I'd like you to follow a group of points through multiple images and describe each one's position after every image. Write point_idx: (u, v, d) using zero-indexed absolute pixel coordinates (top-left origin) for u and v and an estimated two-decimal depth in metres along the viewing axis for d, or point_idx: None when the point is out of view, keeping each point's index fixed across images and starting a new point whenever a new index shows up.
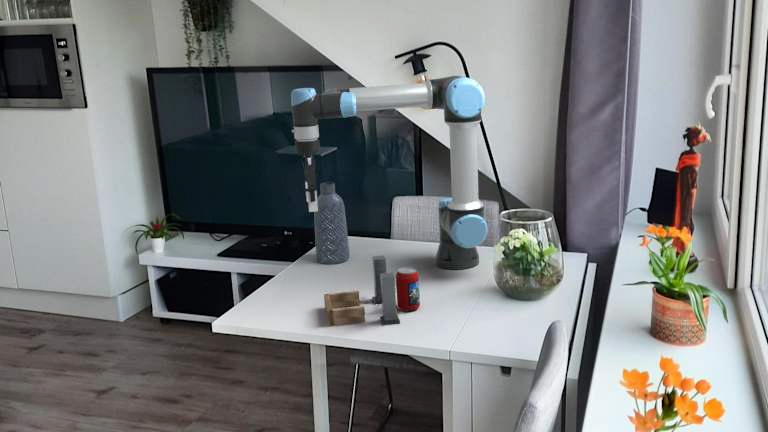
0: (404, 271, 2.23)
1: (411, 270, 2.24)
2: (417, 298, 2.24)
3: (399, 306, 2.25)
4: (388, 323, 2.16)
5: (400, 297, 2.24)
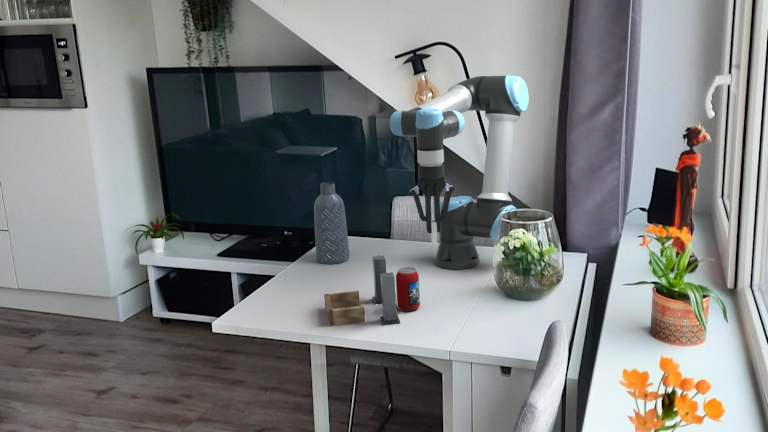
0: (404, 271, 2.23)
1: (411, 270, 2.24)
2: (417, 298, 2.24)
3: (399, 306, 2.25)
4: (388, 323, 2.16)
5: (400, 297, 2.24)
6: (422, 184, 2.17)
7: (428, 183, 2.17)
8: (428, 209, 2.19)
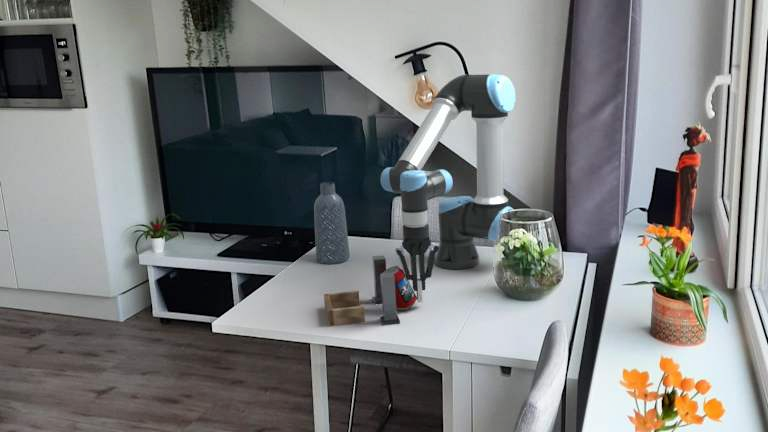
0: None
1: (394, 269, 2.23)
2: (411, 293, 2.23)
3: (397, 306, 2.25)
4: (388, 323, 2.16)
5: None
6: (407, 244, 2.21)
7: (413, 243, 2.21)
8: (414, 268, 2.23)
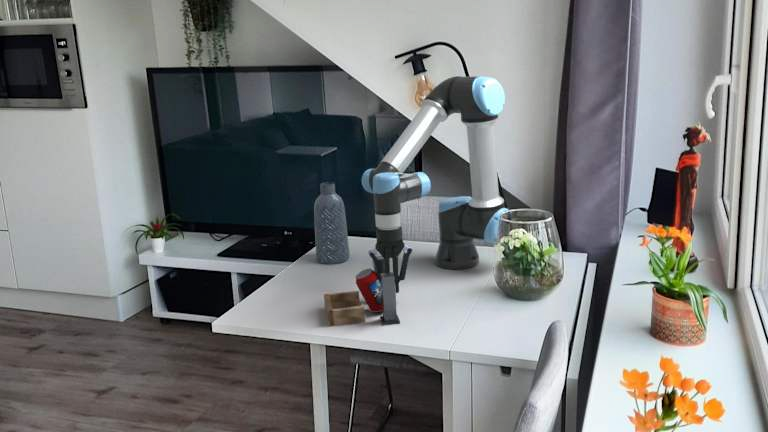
0: (361, 275, 2.22)
1: (368, 271, 2.22)
2: None
3: (370, 309, 2.24)
4: (388, 323, 2.16)
5: (367, 301, 2.22)
6: (380, 247, 2.20)
7: (386, 245, 2.20)
8: (387, 271, 2.22)
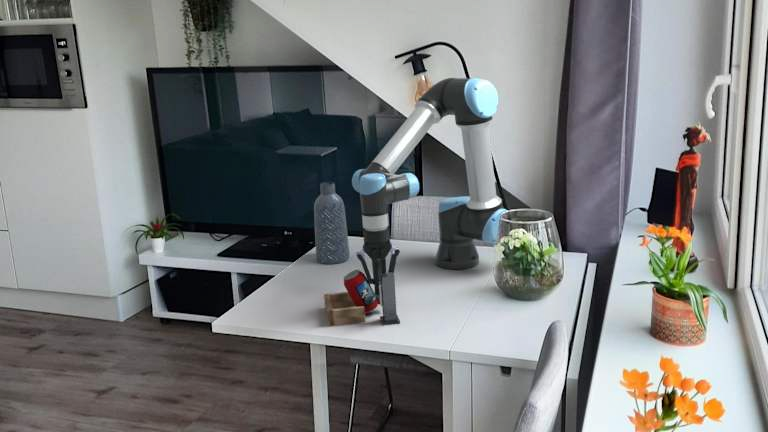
0: (349, 276, 2.22)
1: (355, 273, 2.22)
2: (371, 297, 2.21)
3: None
4: (388, 323, 2.16)
5: (355, 302, 2.22)
6: (368, 248, 2.19)
7: (373, 247, 2.19)
8: (375, 272, 2.21)
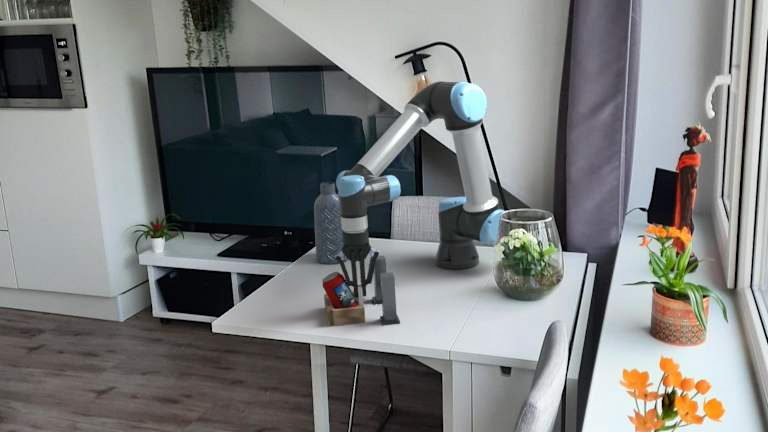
0: (327, 278, 2.21)
1: (334, 274, 2.21)
2: (350, 299, 2.21)
3: None
4: (388, 323, 2.16)
5: (333, 304, 2.21)
6: (346, 250, 2.18)
7: (352, 249, 2.18)
8: (354, 274, 2.20)
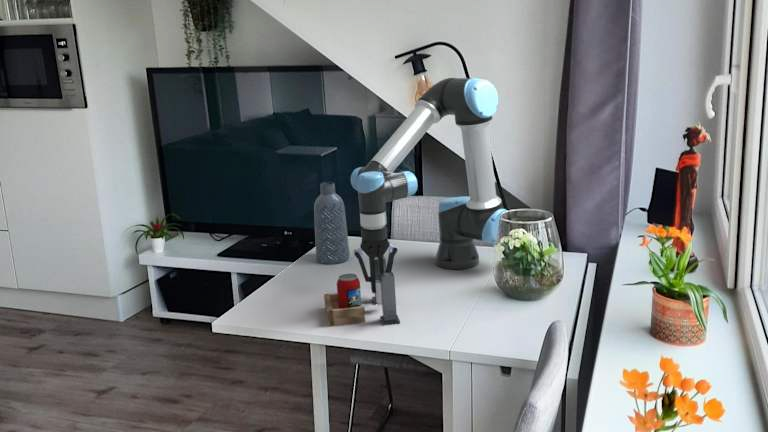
0: (345, 278, 2.21)
1: (352, 277, 2.21)
2: (357, 305, 2.21)
3: None
4: (388, 323, 2.16)
5: (340, 304, 2.21)
6: (365, 246, 2.19)
7: (371, 245, 2.19)
8: (372, 270, 2.21)
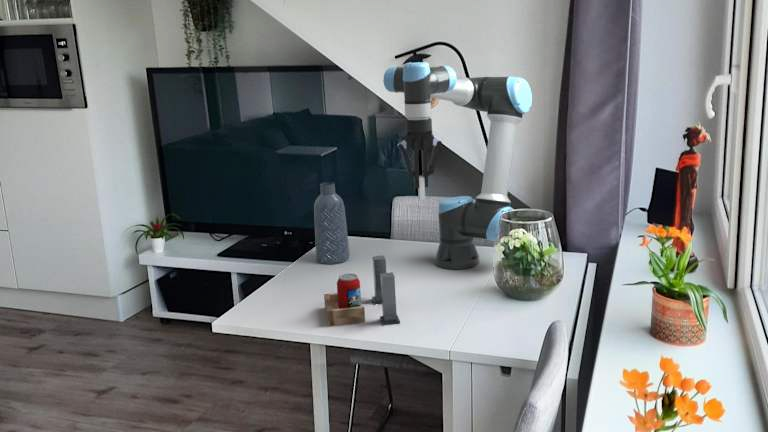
0: (345, 277, 2.21)
1: (352, 277, 2.21)
2: (357, 305, 2.21)
3: None
4: (388, 323, 2.16)
5: (340, 304, 2.21)
6: (409, 138, 2.17)
7: (415, 137, 2.17)
8: (416, 164, 2.18)
